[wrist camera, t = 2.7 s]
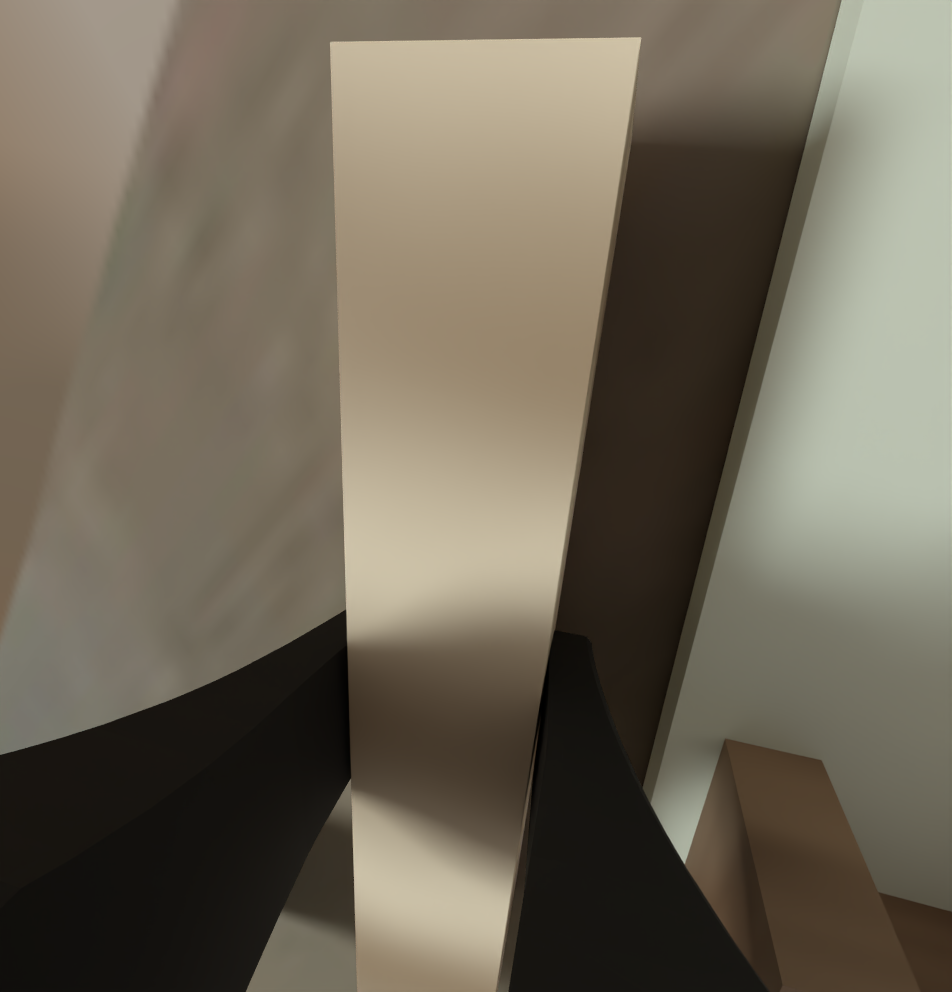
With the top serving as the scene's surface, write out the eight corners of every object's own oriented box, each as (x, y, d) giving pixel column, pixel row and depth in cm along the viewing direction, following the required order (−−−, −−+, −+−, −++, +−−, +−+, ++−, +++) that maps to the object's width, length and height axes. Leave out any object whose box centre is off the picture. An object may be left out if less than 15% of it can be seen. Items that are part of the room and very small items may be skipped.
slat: (516, 881, 15) (484, 1067, 12) (417, 851, 16) (357, 1019, 12) (630, 145, 8) (640, 38, 5) (447, 141, 9) (330, 42, 5)
